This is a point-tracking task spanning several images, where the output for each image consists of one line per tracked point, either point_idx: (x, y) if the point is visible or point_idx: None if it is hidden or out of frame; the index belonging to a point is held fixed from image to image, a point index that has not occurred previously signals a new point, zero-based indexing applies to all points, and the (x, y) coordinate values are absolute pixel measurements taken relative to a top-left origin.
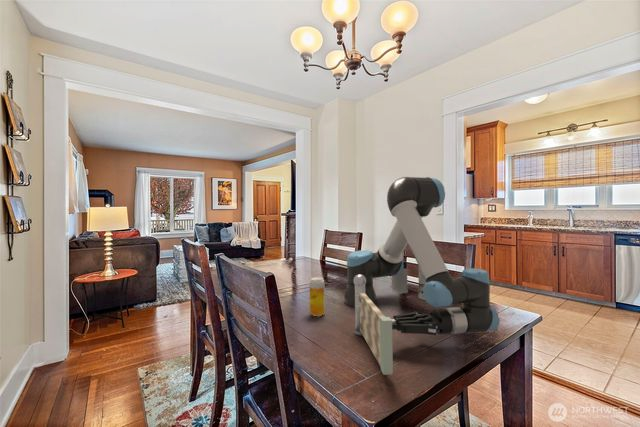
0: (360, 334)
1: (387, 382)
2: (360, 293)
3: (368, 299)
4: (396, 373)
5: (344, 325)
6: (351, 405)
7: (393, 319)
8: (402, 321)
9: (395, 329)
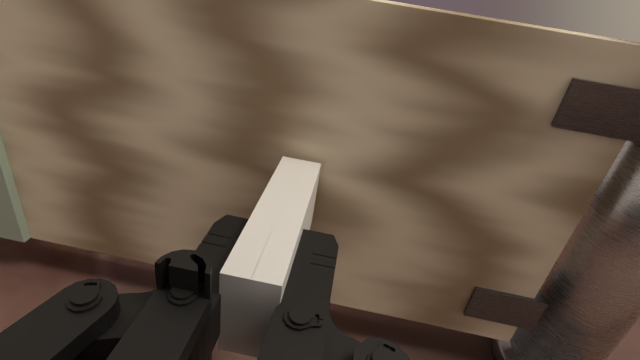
0: (496, 340)
1: (13, 247)
2: (616, 39)
3: (422, 8)
4: (15, 311)
5: (635, 326)
6: None
7: (270, 276)
8: (158, 348)
9: (218, 344)
